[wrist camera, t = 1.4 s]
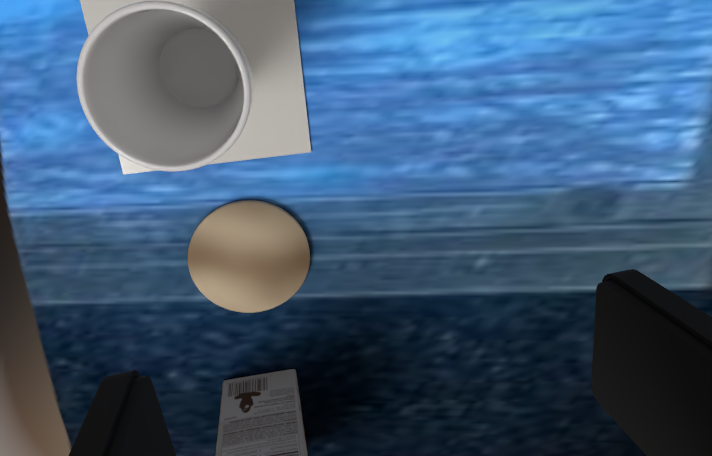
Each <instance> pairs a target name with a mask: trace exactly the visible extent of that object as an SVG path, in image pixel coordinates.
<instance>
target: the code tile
mask: <svg viewBox="0 0 712 456" xmlns="http://www.w3.org/2000/svg"><path fill="white" fill-rule="evenodd" d="M144 1H172V2H178V3H183V4H187V5H191V6H193V7H196V8H199V9H201V10H203V11H205V12H207V13H209V14H211V15H212V16H214V17H215V18H217V19H218V20H220V21H221V22H222V23H223V24H224V25H225V26H227V27H228V28H229V29H230V30H231V32H232V33H233V34H234V35H235V36H236V38H237V39H238V40H239V42H240V43H241V45H242V47H243V48H244V50H245V52H246V54H247V57H248V59H249V62H250V65H251V69H252V74H253V82H254V93H253V102H252V107H251V111H250V114H249V117H248V120H247V122H246V124H245V127H244V129H243V131H242V133H241V135H240V136H239V138H238V139H237V141H236V142H235V143H234V144H233V146H232V147H231V148H230V149H229V150H228V151H227V152H225V153H224V154H223V155H222V156H220V157H219V158H217V159H216V160H214V161H212V162H211V163H209V164H215V163H224V162H232V161H240V160H249V159H257V158H266V157H274V156H283V155H291V154H299V153H308V152H311V146H310V137H309V128H308V119H307V110H306V101H305V93H304V84H303V75H302V66H301V57H300V49H299V40H298V31H297V22H296V13H295V4H294V0H80V2H81V6H82V10H83V14H84V18H85V22H86V26H87V30H88V34H90V33H91V32H92V30H93V29H94V28H95V27H96V26H97V24H98V23H99V22H100V21H102V20H103V19H104V18H105V17H106V16H108V15H109V14H111V13H112V12H114V11H116V10H118V9H120V8H122V7H124V6H127V5H130V4H134V3H137V2H144ZM119 158H120V162H121V166H122V170H123V174H131V173H139V172H148V171H156V170H154V169H150V168H146V167H143V166H141V165H138V164H136V163H133V162H131V161H129V160H127V159H126V158H124V157H122V156H121V155H119ZM206 165H207V164H206Z"/></svg>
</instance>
